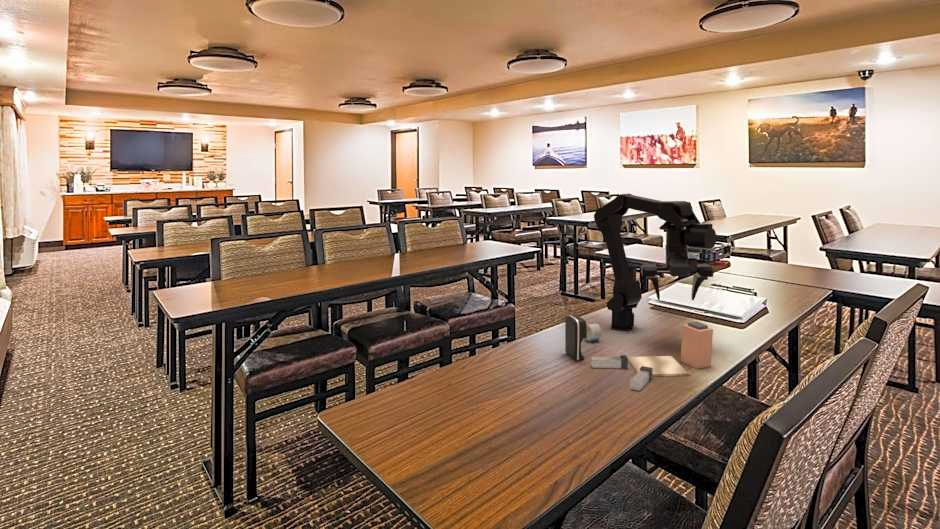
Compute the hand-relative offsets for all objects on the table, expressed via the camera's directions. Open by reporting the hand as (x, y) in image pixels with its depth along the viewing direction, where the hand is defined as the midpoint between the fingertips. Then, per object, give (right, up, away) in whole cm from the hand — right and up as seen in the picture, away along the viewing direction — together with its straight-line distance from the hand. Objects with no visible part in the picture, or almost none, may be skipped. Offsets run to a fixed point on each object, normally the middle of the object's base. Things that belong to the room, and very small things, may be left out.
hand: (675, 299), depth 151 cm
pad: (-11, -16, -15) cm, 25 cm away
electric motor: (-23, -13, +6) cm, 27 cm away
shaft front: (-18, -18, -25) cm, 36 cm away
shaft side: (-23, -17, -14) cm, 31 cm away
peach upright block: (0, -16, -13) cm, 21 cm away
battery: (-30, -16, -6) cm, 34 cm away
